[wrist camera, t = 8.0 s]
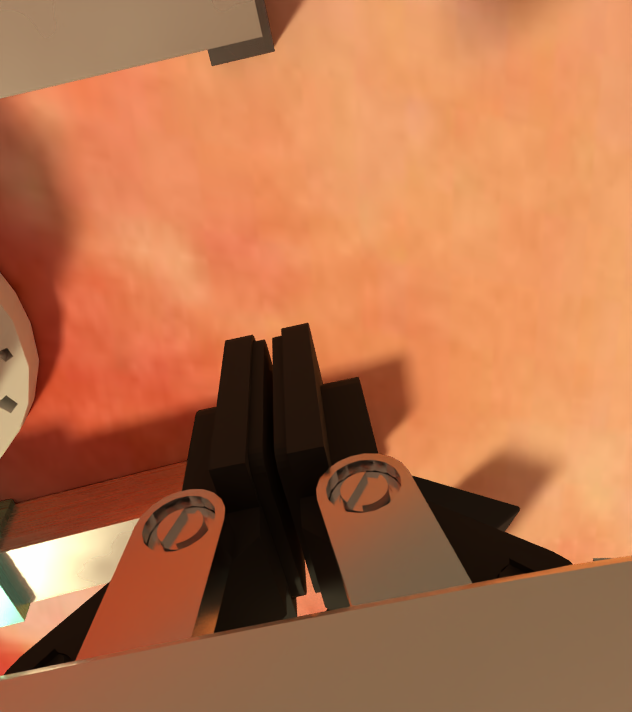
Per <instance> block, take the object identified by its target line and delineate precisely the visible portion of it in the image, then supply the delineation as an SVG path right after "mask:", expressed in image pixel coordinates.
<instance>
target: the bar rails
mask: <svg viewBox="0 0 632 712" xmlns="http://www.w3.org/2000/svg"><path fill="white" fill-rule="evenodd" d="M204 50H208V53H209V57H210V61H211V65H212V66H215V65H219V64H223V63H228V62H232V61H236V60H240V59H244V58H249V57H253V56H257V55H261V54H266V53H270V52H274V51H275V49H274V45H273V40H272V35H271V30H270V26H269V21H268V16H267V12H266V7H265V2H264V0H0V98H5V97H9V96H13V95H17V94H22V93H26V92H30V91H34V90H39V89H43V88H47V87H51V86H56V85H60V84H64V83H68V82H72V81H77V80H81V79H85V78H89V77H94V76H98V75H102V74H106V73H111V72H115V71H119V70H123V69H128V68H132V67H136V66H140V65H145V64H149V63H153V62H157V61H161V60H166V59H170V58H174V57H178V56H183V55H187V54H191V53H195V52H200V51H204ZM186 465H187V461H185V462H181V463H177V464H173V465H169V466H165V467H161V468H157V469H153V470H149V471H145V472H141V473H137V474H133V475H129V476H125V477H121V478H117V479H113V480H109V481H105V482H101V483H97V484H93V485H89V486H85V487H81V488H77V489H73V490H69V491H65V492H61V493H57V494H53V495H49V496H45V497H41V498H37V499H33V500H29V501H25V502H21V503H17V504H15V503H14V501H13V500H12V499H9V500H5V501H1V502H0V627H4V626H7V625H11V624H15V623H19V622H23V621H25V618H26V615H27V612H28V609H29V606H30V603H31V602H35V601H39V600H43V599H47V598H51V597H55V596H59V595H62V594H66V593H70V592H74V591H78V590H82V589H86V588H90V587H94V586H98V585H102V584H106V583H109V582H110V581H111V579H112V577H113V574H114V572H115V570H116V568H117V565H118V563H119V561H120V559H121V556H122V554H123V552H124V550H125V547H126V545H127V543H128V540H129V538H130V536H131V534H132V531H133V529H134V527H135V525H136V524H137V522H138V520H139V519H140V517H141V516H142V515H143V514H144V513H145V512H146V511H147V510H148V509H149V508H150V507H151V506H152V505H154V504H155V503H157V502H158V501H160V500H161V499H163V498H164V497H167V496H169V495H171V494H174V493H176V492H180V491H182V487H183V481H184V476H185V470H186Z"/></svg>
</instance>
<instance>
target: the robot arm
mask: <svg viewBox="0 0 632 712" xmlns="http://www.w3.org/2000/svg"><path fill="white" fill-rule="evenodd" d="M281 333H282V336H279V337H274V338H272V348H273V365H272V362H271V358H270V354H269V351H268V347H267V344H266V341H265V340H260V341H256V340H255V338H254V336H253V335H249V336H245V337H240V338H235V339H231V340H226V341H225V346H224V354H223V361H222V369H221V377H220V384H219V392H218V399H217V407H213V408H209V409H204V410H199V411H198V412H197V413H196V416H195V421H194V426H193V432H192V437H191V443H190V448H189V454H188V459H187V465H186V470H185V476H184V481H183V487H182V491H180V492H176V493H174V494H171V495H169V496H167V497H164V498H163V499H161V500H160V501H158V502H157V503H155V504H154V505H152V506H151V507H150V508H149V509H148V510H147V511H146V512H145V513H144V514H143V515H142V516H141V517H140V519H139V520H138V522H137V524H136V525H135V527H134V529H133V531H132V534H131V536H130V538H129V540H128V543H127V545H126V547H125V550H124V552H123V554H122V556H121V559H120V561H119V563H118V565H117V568H116V570H115V572H114V574H113V577H112V579H111V581H110V582H109V583H108V584H106V585H105V586H104V587H103V588H102V589H100V590H99V591H98V592H97V593H96V594H95V595H93V596H92V597H91V598H90V599H89V600H87V601H86V602H85V603H84V604H83V605H81V606H80V607H79V608H78V609H77V610H76V611H74V612H73V613H72V614H71V615H70V616H68V617H67V618H66V619H65V620H64V621H62V622H61V623H60V624H59V625H58V626H57V627H55V628H54V629H53V630H52V631H51V632H49V633H48V634H47V635H46V636H45V637H43V638H42V639H41V640H40V641H39V642H38V643H36V644H35V645H34V646H33V647H32V648H30V649H29V650H28V651H27V652H26V653H25V654H23V655H22V656H21V657H20V658H19V659H18V660H17V661H16V662H15V663H14V664H13V665H12V666H11V667H10V668H9V669H8V670H7V671H6V673H5V674H4V675H3V676H0V712H632V556H626V557H619V558H593V562H586V563H580V564H574V565H573V564H572V563H571V562H570V561H569V560H567V559H565V558H563V557H562V556H560V555H558V554H556V553H554V552H553V551H550V550H548V549H545V548H543V547H540V546H538V545H535V544H533V543H530V542H528V541H526V540H523V539H521V538H518V537H516V536H513V535H511V534H508V533H506V532H503V531H501V530H499V529H496V528H494V527H491V526H489V525H486V524H484V523H481V522H479V521H476V520H474V519H472V518H469V517H467V516H464V515H462V514H459V513H457V512H454V511H452V510H449V509H447V508H445V507H442V506H440V505H437V504H435V503H432V502H430V501H427V500H425V498H424V497H423V495H422V493H421V491H420V490H419V488H418V486H417V484H416V483H415V481H414V479H413V477H412V475H411V474H410V472H409V470H408V469H407V468H406V467H405V466H404V465H403V463H402V462H400V461H398V460H396V459H395V458H393V457H391V456H386V455H382V454H378V451H377V447H376V443H375V439H374V435H373V431H372V427H371V423H370V419H369V415H368V411H367V407H366V403H365V399H364V395H363V391H362V388H361V384H360V380H359V377H355V378H351V379H346V380H341V381H337V382H332V383H327V384H323V382H322V378H321V374H320V369H319V365H318V361H317V357H316V352H315V348H314V344H313V340H312V335H311V331H310V327H309V324H308V323H305V324H300V325H296V326H291V327H286V328H282V329H281ZM305 561H306V564H307V568H308V571H309V574H310V578H311V581H312V584H313V587H314V590H315V592H316V593H318V592H321V594H322V598H323V601H324V604H325V607H326V608H328V609H329V610H330V611H325V612H320V613H314V614H309V615H304V616H299V617H297V603H296V597H298V596H303V595H306V593H307V588H306V573H305Z"/></svg>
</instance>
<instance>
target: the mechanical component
mask: <svg viewBox="0 0 632 712" xmlns="http://www.w3.org/2000/svg"><path fill="white" fill-rule="evenodd" d="M38 367H39V358H38V353H37V349H36V344H35V340H34V336H33V331H32V327H31V323H30V321H29V319H28V317H27V315H26V313H25V311H24V309H23V307H22V305H21V302H20V300H19V298H18V296H17V294H16V293H15V291H14V290H13V289H12V287H11V286H10V285H9V283H8V282H7V281H6V279H5V278H4V277H3V276H2V274H1V273H0V458H1V457H2V455H3V454H4V452H5V451H6V450H7V448H8V447H9V445H10V444H11V442H12V441H13V439H14V438H15V436H16V435H17V433H18V432H19V430H20V429H21V427H22V425H23V424H24V422H25V420H26V417H27V415H28V413H29V410H30V408H31V406H32V403H33V401H34V398H35V390H36V382H37V375H38Z"/></svg>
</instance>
